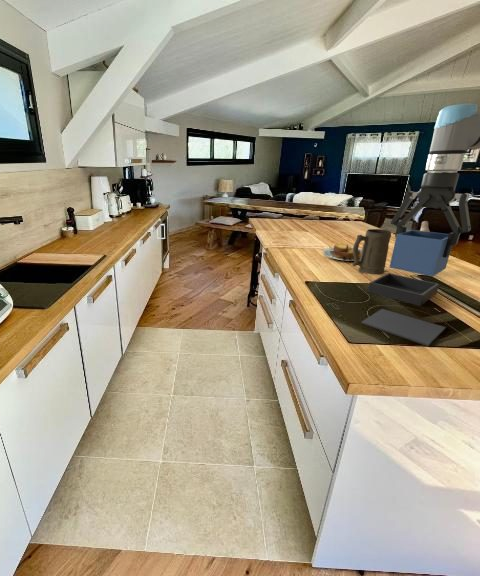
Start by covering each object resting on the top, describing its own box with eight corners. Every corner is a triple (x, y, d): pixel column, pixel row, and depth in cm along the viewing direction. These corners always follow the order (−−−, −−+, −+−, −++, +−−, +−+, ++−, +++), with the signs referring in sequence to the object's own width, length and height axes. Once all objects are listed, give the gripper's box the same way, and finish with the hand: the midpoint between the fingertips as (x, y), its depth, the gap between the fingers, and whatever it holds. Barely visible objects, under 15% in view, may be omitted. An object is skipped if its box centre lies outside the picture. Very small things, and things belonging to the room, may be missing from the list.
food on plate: (383, 262, 161) (386, 250, 159) (337, 264, 159) (339, 252, 157) (354, 250, 185) (356, 239, 183) (314, 252, 183) (315, 241, 180)
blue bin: (445, 268, 91) (455, 234, 88) (433, 276, 85) (443, 240, 81) (403, 261, 99) (410, 229, 96) (389, 267, 93) (396, 234, 90)
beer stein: (374, 268, 153) (379, 227, 145) (391, 274, 143) (397, 231, 135) (345, 272, 151) (349, 231, 143) (360, 279, 141) (365, 235, 133)
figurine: (414, 257, 170) (423, 220, 163) (432, 260, 163) (442, 222, 156) (407, 260, 165) (416, 221, 158) (425, 263, 159) (436, 223, 152)
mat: (447, 326, 96) (448, 324, 96) (428, 346, 86) (428, 344, 85) (384, 308, 109) (385, 306, 109) (360, 323, 99) (361, 321, 99)
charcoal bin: (435, 295, 119) (439, 283, 118) (419, 308, 109) (423, 295, 107) (386, 283, 132) (388, 272, 130) (367, 293, 122) (369, 282, 120)
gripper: (388, 172, 89) (373, 247, 97) (498, 172, 72) (469, 263, 80) (398, 171, 94) (383, 243, 101) (504, 171, 76) (476, 258, 84)
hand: (421, 252), depth 91 cm, fingers closed on blue bin, 11 cm apart
